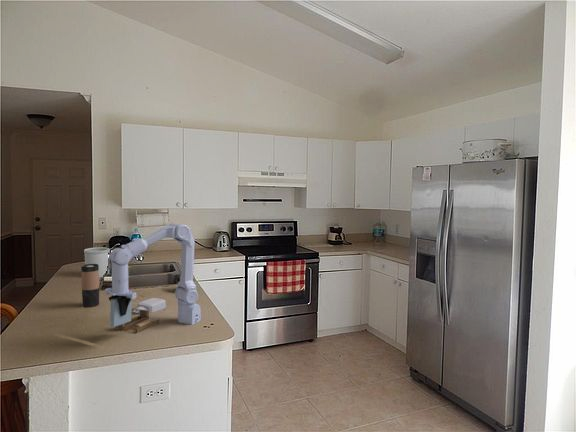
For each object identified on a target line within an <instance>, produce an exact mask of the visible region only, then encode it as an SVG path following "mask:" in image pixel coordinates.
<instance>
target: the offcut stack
mask: <svg viewBox="0 0 576 432" xmlns="http://www.w3.org/2000/svg"><path fill="white" fill-rule="evenodd" d="M153 321H154V319H150V318H149V319H148V320H145V321H143V322H140V323H138V324H136V325H135V327H134V330H136V329H137V328H139V327H142V326H144V325H146V324H149V323H151V322H153Z"/></svg>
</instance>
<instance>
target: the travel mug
mask: <svg viewBox="0 0 576 432" xmlns="http://www.w3.org/2000/svg"><path fill="white" fill-rule="evenodd" d="M80 269H81V299H82V301H81V302H82V307H83V308H93V307H98V306H99V305H100V277H99V265H98V264H86V265H85V264H84V265H81V268H80Z"/></svg>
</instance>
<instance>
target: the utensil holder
mask: <svg viewBox="0 0 576 432" xmlns="http://www.w3.org/2000/svg"><path fill="white" fill-rule="evenodd" d="M108 252H109V253H110V248H109V247H106V246H104V247H99V246H98V247H90V248H89V247H88V248H85V249H84V250H83V253H84V254H83V255H84V265H86V264H98V265H99V278H104V277H103V275H104V274H105V273H106V271H107V266H108Z"/></svg>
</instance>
